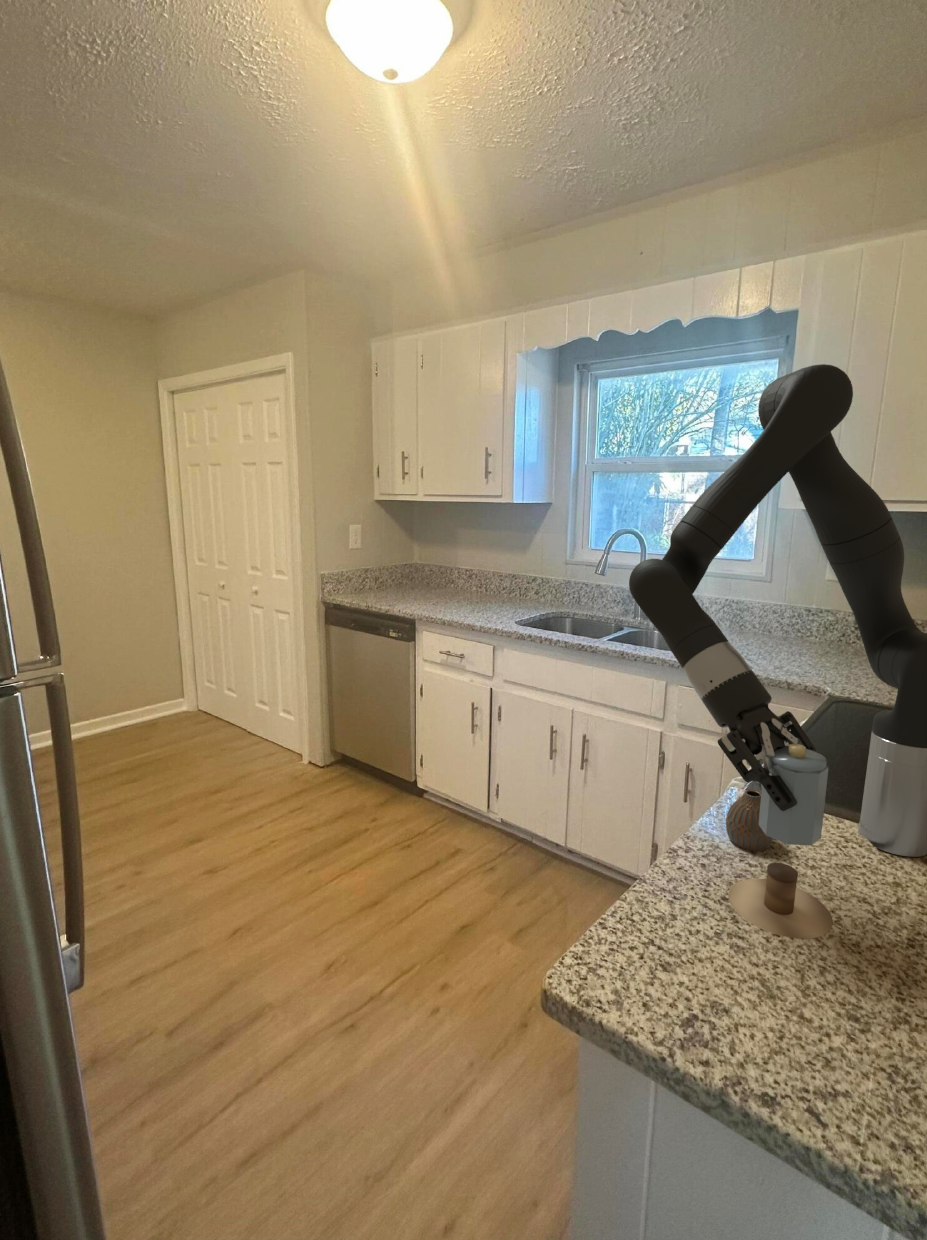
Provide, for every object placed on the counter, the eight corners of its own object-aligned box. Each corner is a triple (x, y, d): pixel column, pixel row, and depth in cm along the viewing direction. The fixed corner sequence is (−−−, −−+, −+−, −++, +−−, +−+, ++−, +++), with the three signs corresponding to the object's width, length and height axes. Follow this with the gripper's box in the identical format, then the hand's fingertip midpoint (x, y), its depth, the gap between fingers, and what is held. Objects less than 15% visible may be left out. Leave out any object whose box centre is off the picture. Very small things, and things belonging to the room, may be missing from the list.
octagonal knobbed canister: (804, 819, 80) (813, 737, 78) (828, 846, 74) (838, 758, 72) (753, 817, 81) (760, 735, 79) (771, 843, 75) (780, 756, 73)
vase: (767, 864, 91) (773, 808, 89) (718, 848, 95) (723, 795, 93) (777, 843, 96) (783, 791, 95) (730, 829, 100) (735, 779, 99)
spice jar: (787, 898, 81) (791, 863, 81) (798, 916, 78) (802, 879, 77) (759, 896, 82) (763, 861, 81) (769, 914, 78) (773, 877, 78)
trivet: (806, 887, 85) (807, 881, 85) (850, 948, 74) (851, 942, 73) (716, 881, 87) (716, 875, 86) (745, 940, 75) (745, 934, 75)
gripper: (711, 677, 76) (799, 804, 69) (776, 660, 84) (860, 772, 77) (673, 707, 81) (750, 828, 74) (737, 689, 89) (812, 796, 82)
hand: (806, 799), depth 75 cm, fingers closed on octagonal knobbed canister, 6 cm apart
